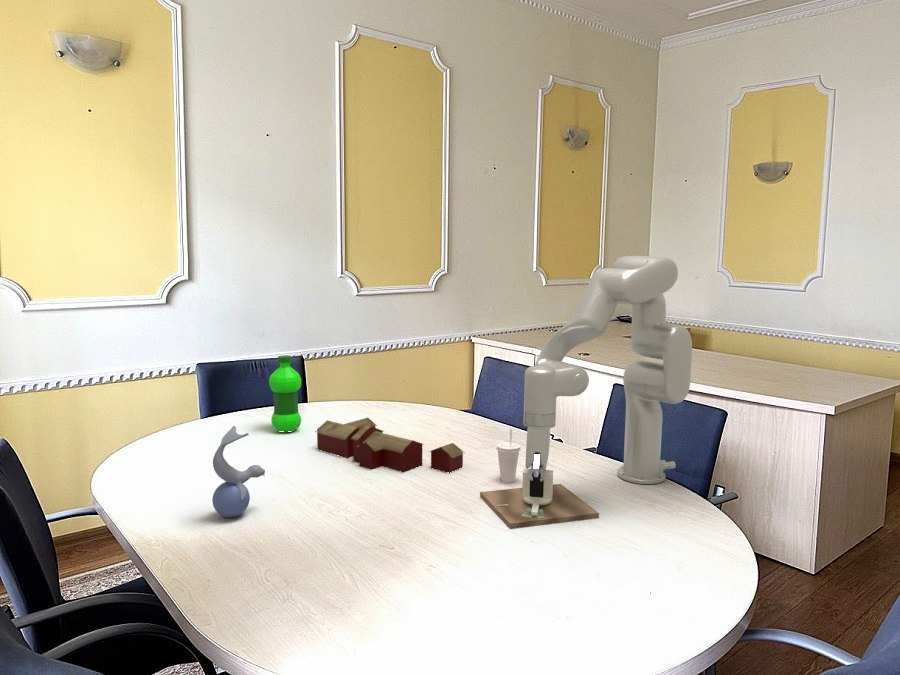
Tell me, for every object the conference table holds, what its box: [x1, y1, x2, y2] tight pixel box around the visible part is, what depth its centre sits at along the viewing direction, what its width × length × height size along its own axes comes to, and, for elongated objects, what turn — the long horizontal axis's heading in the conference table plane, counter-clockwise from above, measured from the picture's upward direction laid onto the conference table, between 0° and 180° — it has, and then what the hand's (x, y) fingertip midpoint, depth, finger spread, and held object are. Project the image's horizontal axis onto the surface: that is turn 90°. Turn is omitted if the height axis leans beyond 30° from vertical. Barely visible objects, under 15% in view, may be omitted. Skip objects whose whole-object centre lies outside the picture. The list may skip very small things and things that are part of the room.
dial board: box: [479, 483, 600, 530], centre depth 166 cm, size 22×20×1 cm
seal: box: [212, 425, 266, 518], centre depth 159 cm, size 8×12×20 cm
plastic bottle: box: [268, 355, 302, 432], centre depth 228 cm, size 10×10×25 cm
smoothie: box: [496, 428, 521, 484], centre depth 183 cm, size 6×6×14 cm
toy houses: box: [316, 417, 466, 474], centre depth 201 cm, size 45×20×10 cm, turn 52°
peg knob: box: [521, 467, 554, 516], centre depth 162 cm, size 14×7×7 cm, turn 169°
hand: (537, 490), depth 166 cm, fingers open, 7 cm apart
